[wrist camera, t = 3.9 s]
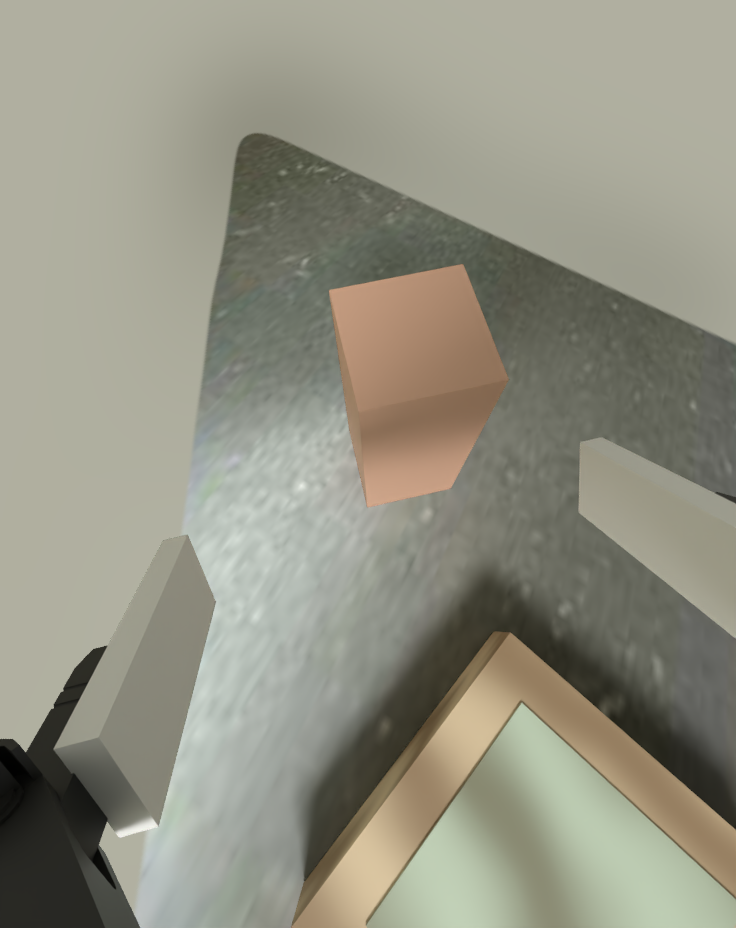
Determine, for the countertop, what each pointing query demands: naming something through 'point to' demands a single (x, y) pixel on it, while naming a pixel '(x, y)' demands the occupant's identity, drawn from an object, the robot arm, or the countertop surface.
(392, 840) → the oak picture frame
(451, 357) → the tall block
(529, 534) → the countertop surface
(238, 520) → the countertop surface
